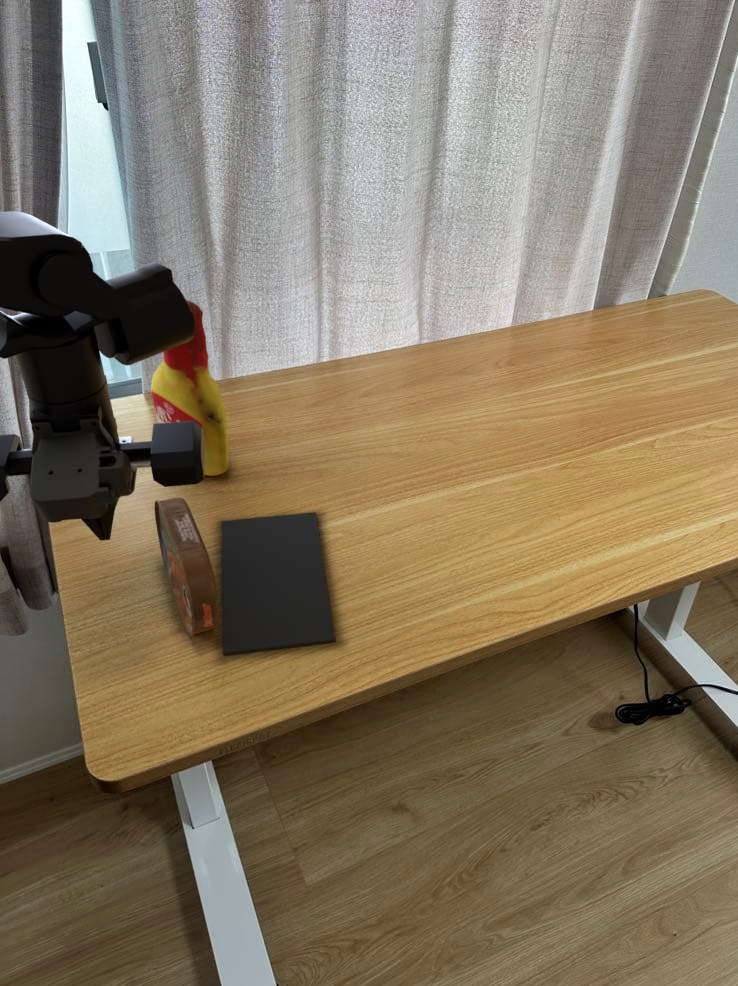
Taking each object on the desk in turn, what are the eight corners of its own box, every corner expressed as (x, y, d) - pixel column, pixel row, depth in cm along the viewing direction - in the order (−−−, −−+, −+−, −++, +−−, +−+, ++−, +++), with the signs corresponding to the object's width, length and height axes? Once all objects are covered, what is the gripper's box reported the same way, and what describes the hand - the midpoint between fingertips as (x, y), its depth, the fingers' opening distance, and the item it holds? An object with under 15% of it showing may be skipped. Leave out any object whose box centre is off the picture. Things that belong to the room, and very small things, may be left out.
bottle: (247, 475, 92) (230, 315, 80) (196, 495, 89) (170, 331, 77) (201, 426, 99) (178, 273, 87) (152, 443, 96) (121, 287, 84)
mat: (223, 655, 71) (222, 652, 71) (221, 523, 85) (221, 520, 85) (335, 642, 73) (335, 639, 73) (316, 514, 87) (315, 511, 87)
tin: (158, 549, 82) (144, 484, 77) (189, 541, 83) (178, 476, 78) (194, 656, 71) (181, 588, 66) (229, 644, 72) (219, 577, 67)
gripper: (-98, 456, 54) (-29, 617, 63) (189, 434, 57) (214, 590, 66) (-55, 372, 62) (0, 524, 72) (192, 357, 65) (214, 505, 75)
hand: (105, 537), depth 71 cm, fingers closed
